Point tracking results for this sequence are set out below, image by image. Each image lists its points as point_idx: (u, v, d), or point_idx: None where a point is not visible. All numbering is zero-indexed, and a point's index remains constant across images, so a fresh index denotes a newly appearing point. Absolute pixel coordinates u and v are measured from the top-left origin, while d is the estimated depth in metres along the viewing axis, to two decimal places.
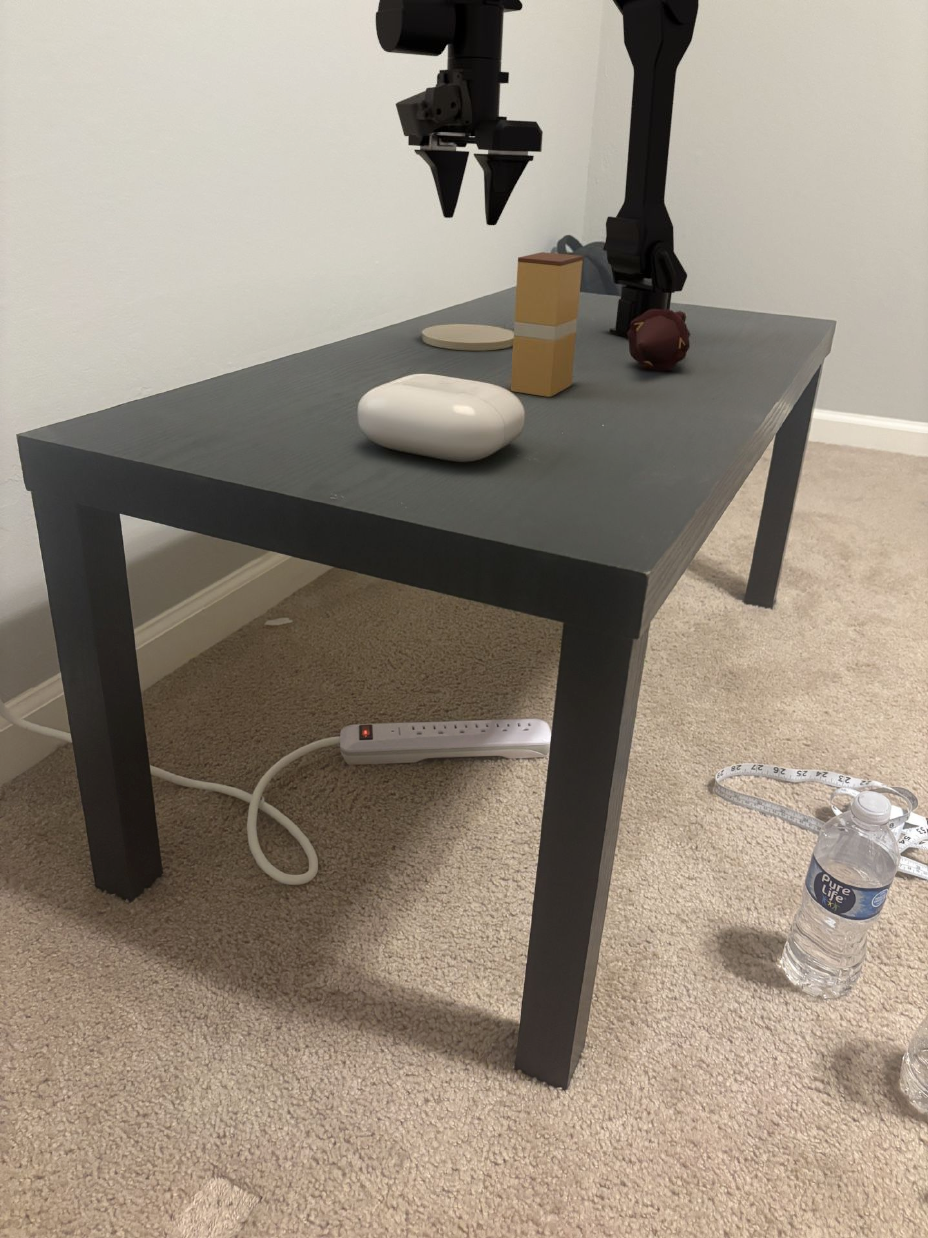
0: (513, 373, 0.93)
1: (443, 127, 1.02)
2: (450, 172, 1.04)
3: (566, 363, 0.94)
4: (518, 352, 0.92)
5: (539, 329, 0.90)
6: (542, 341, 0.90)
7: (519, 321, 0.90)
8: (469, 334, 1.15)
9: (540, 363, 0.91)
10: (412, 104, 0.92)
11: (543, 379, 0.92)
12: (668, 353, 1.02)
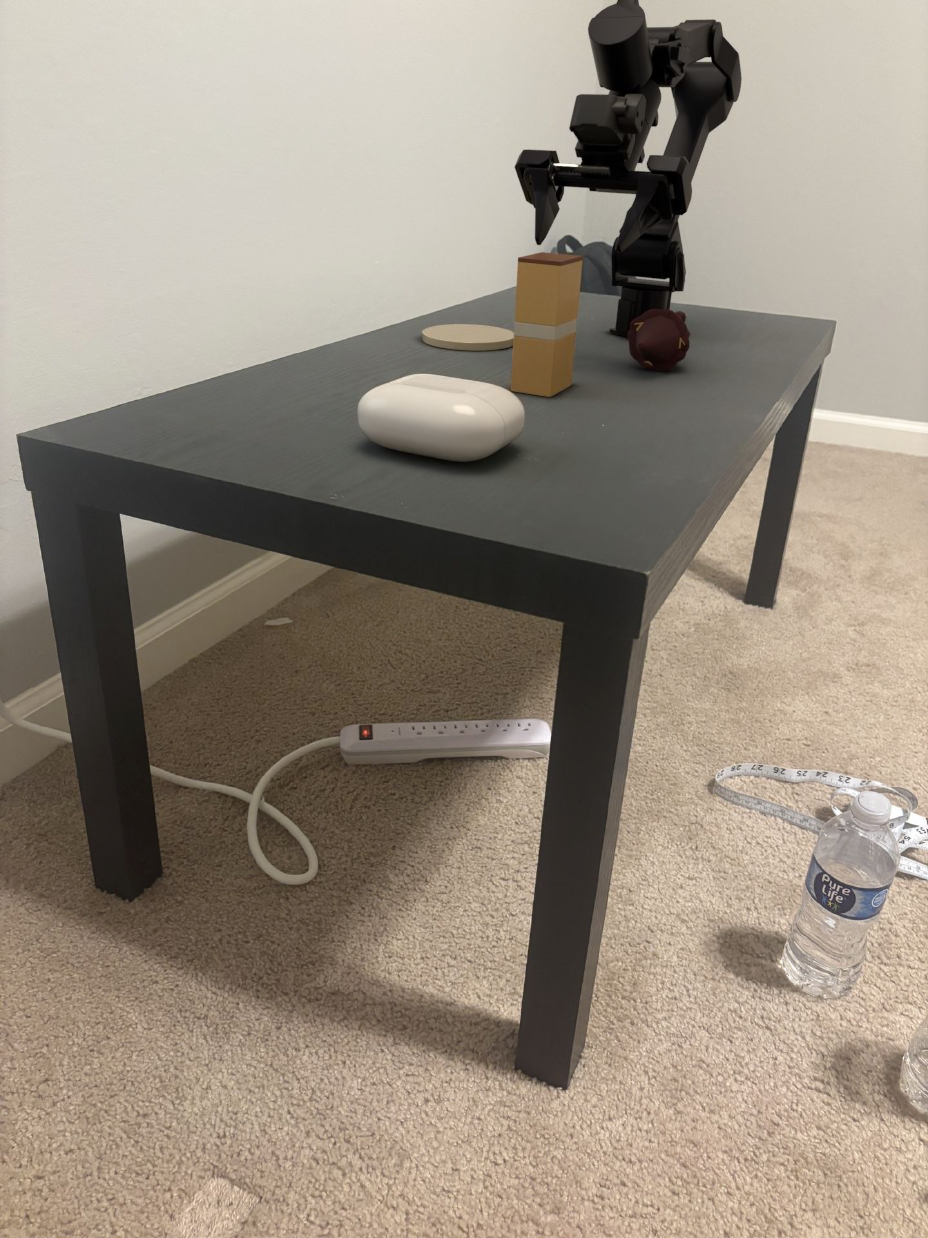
0: (513, 373, 0.93)
1: None
2: (550, 208, 0.99)
3: (566, 363, 0.94)
4: (518, 352, 0.92)
5: (539, 329, 0.90)
6: (542, 341, 0.90)
7: (519, 321, 0.90)
8: (469, 334, 1.15)
9: (540, 363, 0.91)
10: (612, 95, 0.90)
11: (543, 379, 0.92)
12: (668, 353, 1.02)
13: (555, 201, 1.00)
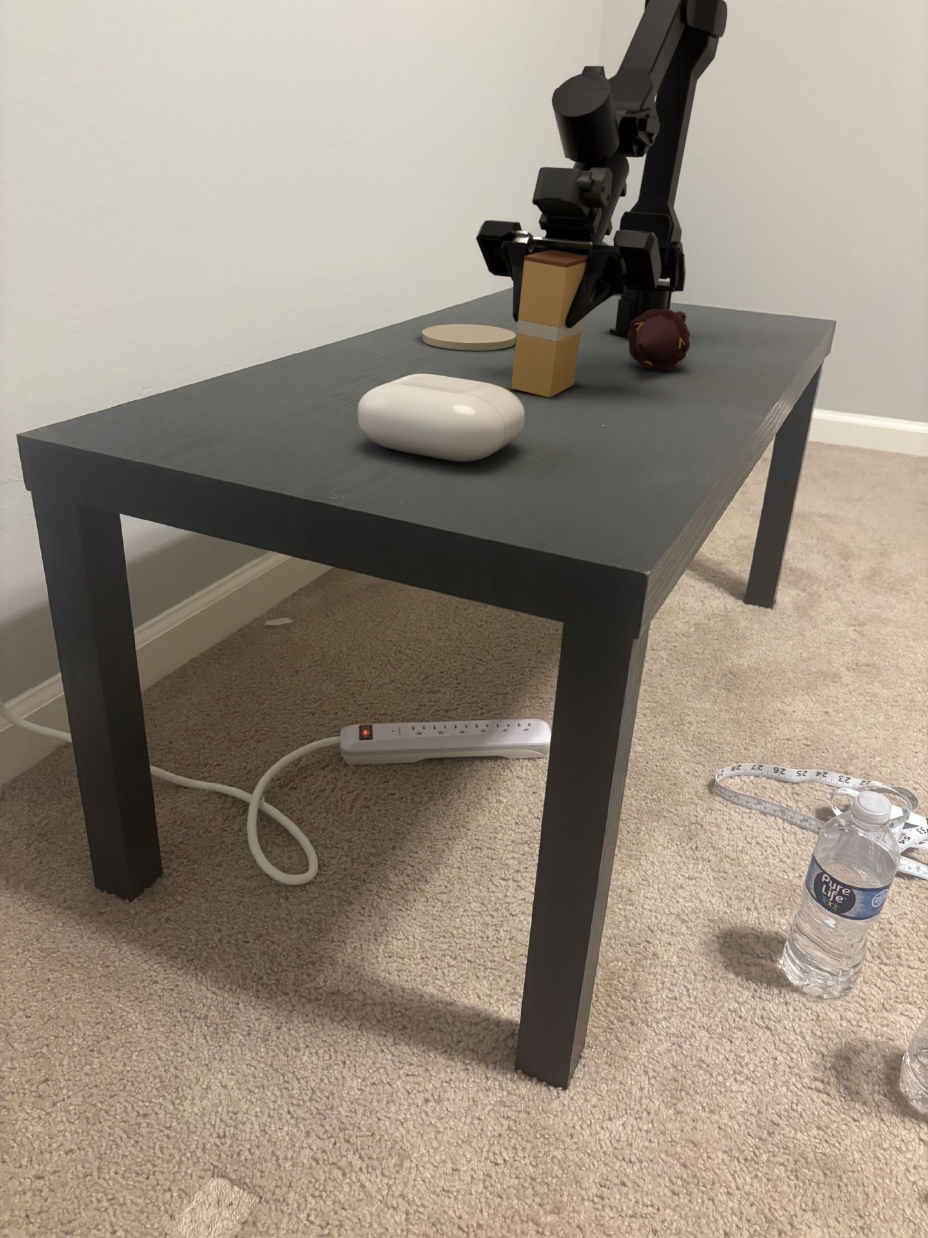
0: (514, 371, 0.93)
1: None
2: None
3: (569, 363, 0.94)
4: (520, 350, 0.91)
5: (542, 329, 0.89)
6: (545, 341, 0.90)
7: (523, 319, 0.90)
8: (469, 334, 1.15)
9: (541, 363, 0.91)
10: (577, 169, 0.85)
11: (544, 379, 0.91)
12: (668, 353, 1.02)
13: None
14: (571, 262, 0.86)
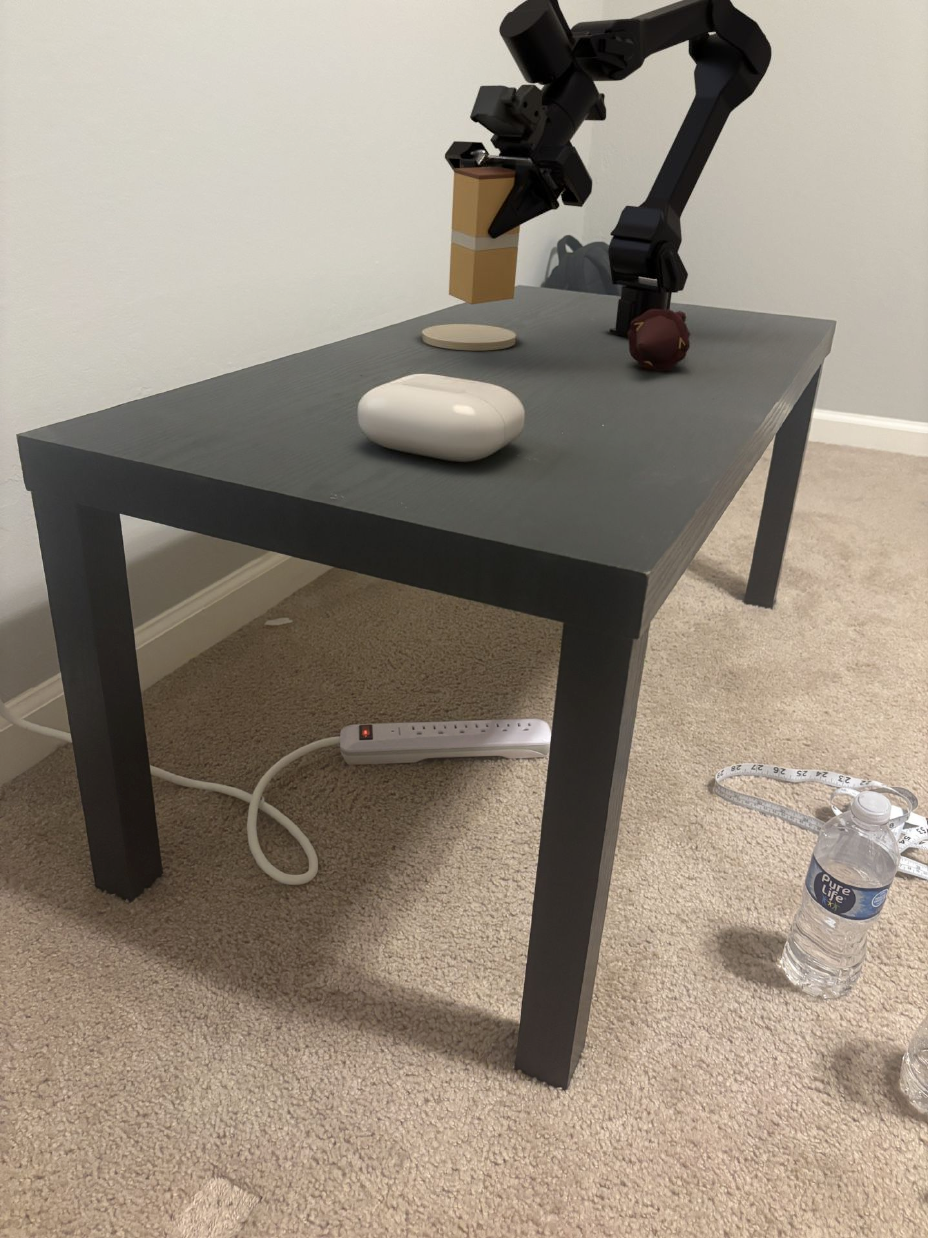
0: (450, 278, 1.01)
1: None
2: None
3: (501, 276, 1.00)
4: (453, 258, 1.00)
5: (465, 238, 0.97)
6: (467, 250, 0.98)
7: (454, 229, 0.98)
8: (469, 334, 1.15)
9: (466, 271, 0.99)
10: (503, 86, 0.92)
11: (467, 286, 0.99)
12: (668, 353, 1.02)
13: None
14: (487, 175, 0.93)
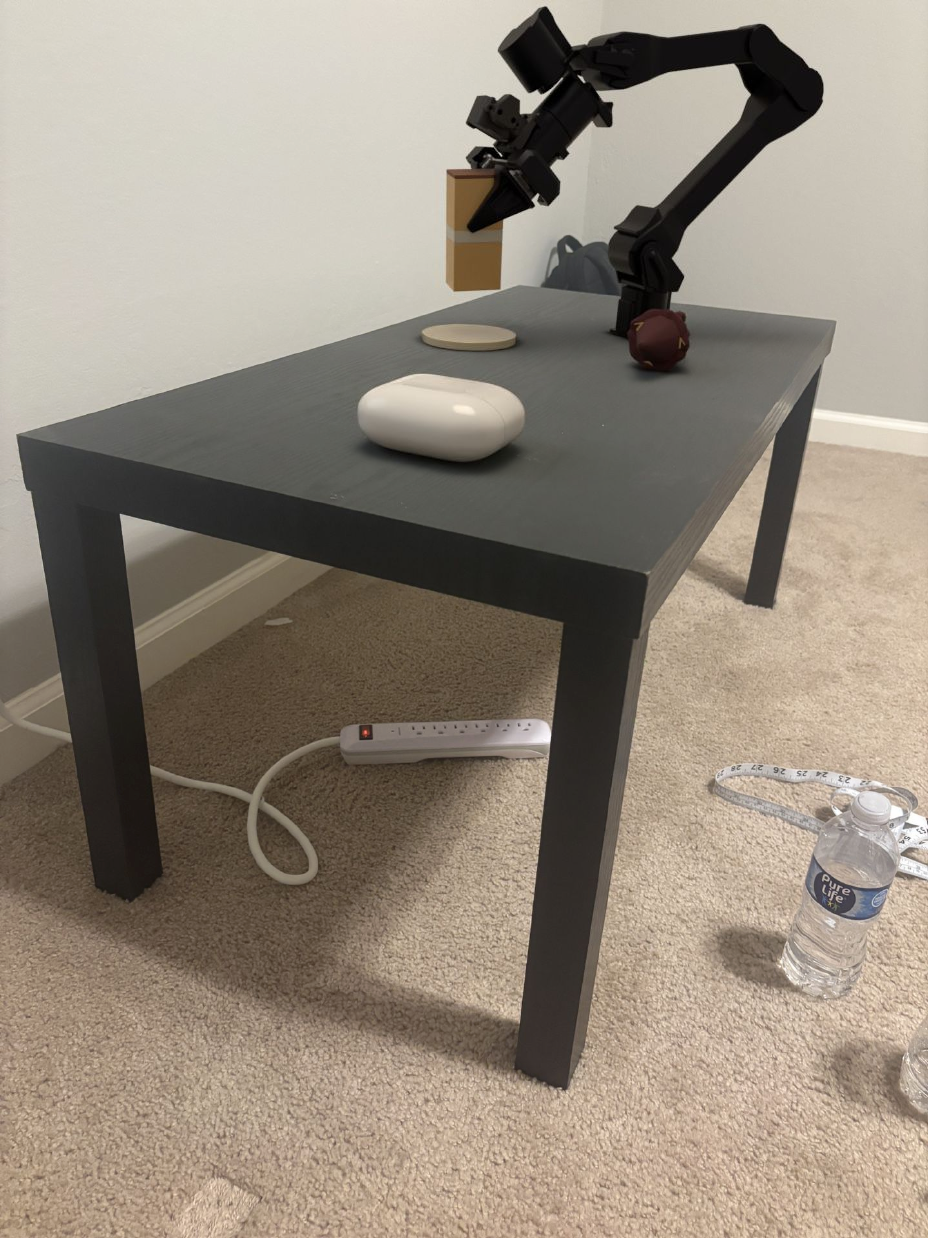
0: (446, 267, 1.13)
1: None
2: None
3: (485, 267, 1.10)
4: (446, 250, 1.12)
5: (451, 231, 1.08)
6: (451, 242, 1.09)
7: (447, 223, 1.10)
8: (469, 334, 1.15)
9: (451, 261, 1.10)
10: (486, 96, 1.02)
11: (452, 275, 1.11)
12: (668, 353, 1.02)
13: None
14: (464, 175, 1.04)
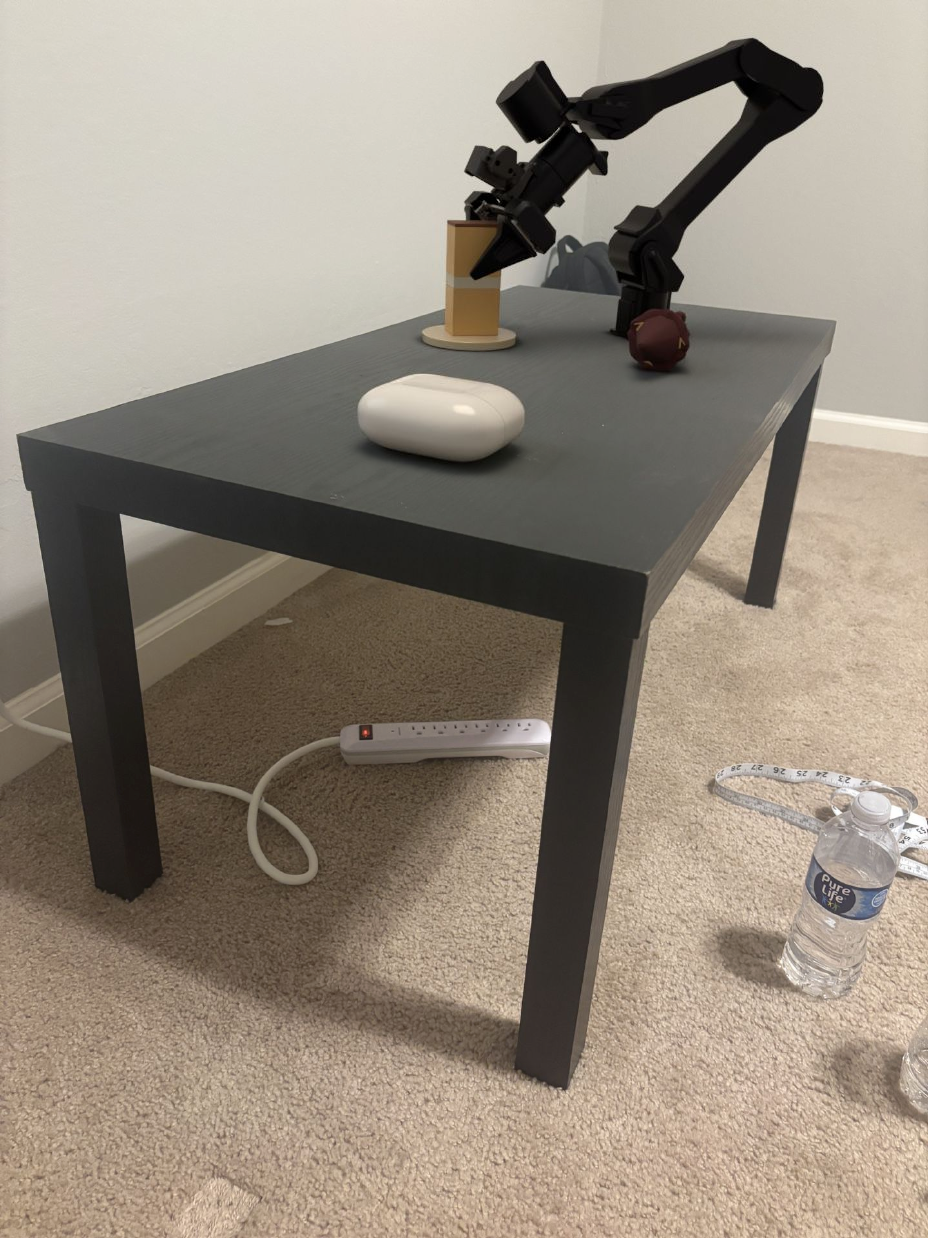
0: (445, 314, 1.16)
1: None
2: None
3: (483, 313, 1.13)
4: (446, 297, 1.15)
5: (450, 278, 1.12)
6: (451, 288, 1.12)
7: (446, 271, 1.13)
8: None
9: (450, 307, 1.13)
10: (484, 146, 1.04)
11: (451, 320, 1.13)
12: (668, 353, 1.02)
13: None
14: (464, 223, 1.07)
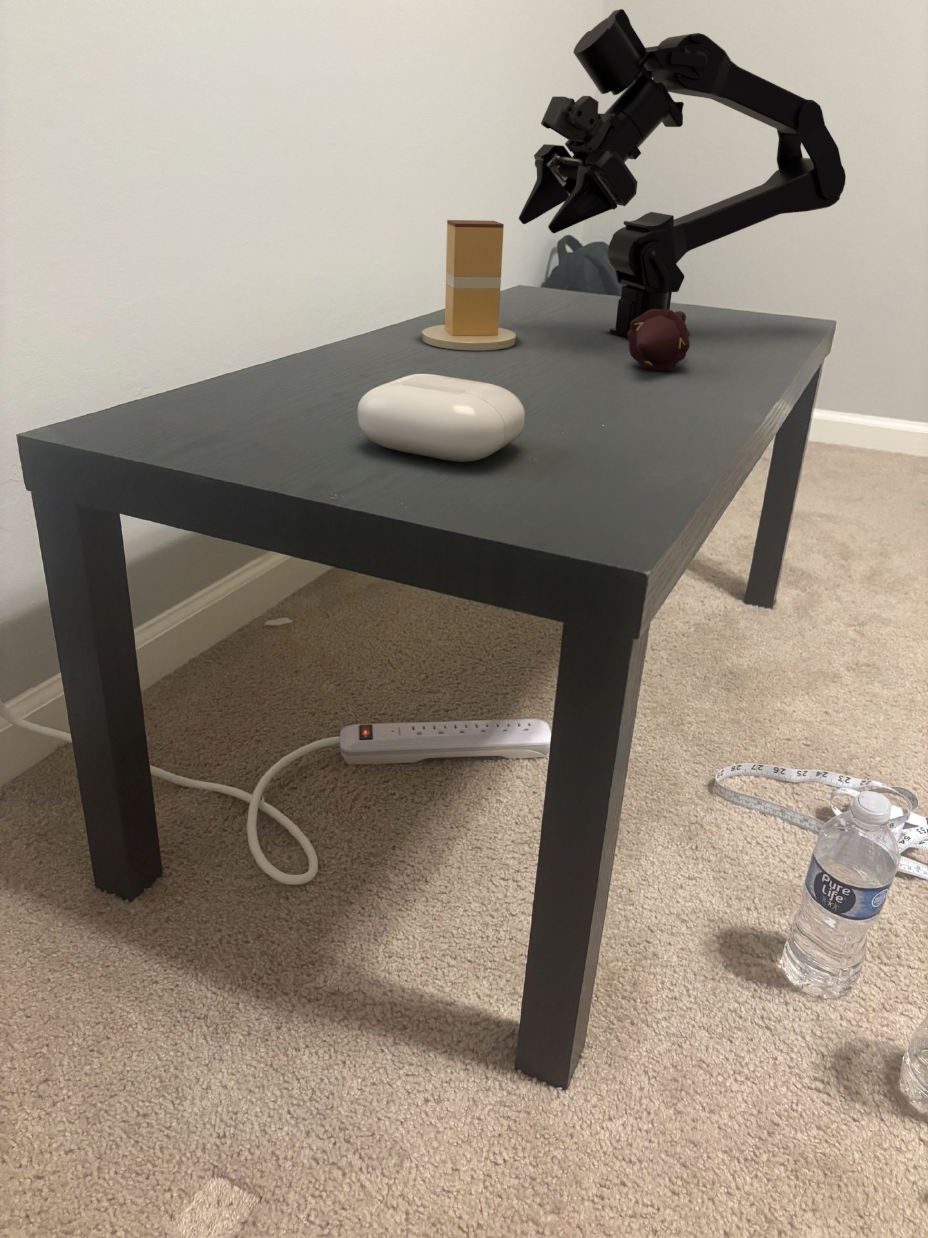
0: (445, 314, 1.16)
1: None
2: (547, 194, 1.15)
3: (483, 313, 1.13)
4: (446, 297, 1.15)
5: (450, 278, 1.12)
6: (451, 288, 1.12)
7: (446, 271, 1.13)
8: None
9: (450, 307, 1.13)
10: (565, 97, 1.04)
11: (451, 320, 1.13)
12: (667, 353, 1.02)
13: (560, 189, 1.16)
14: (464, 223, 1.07)
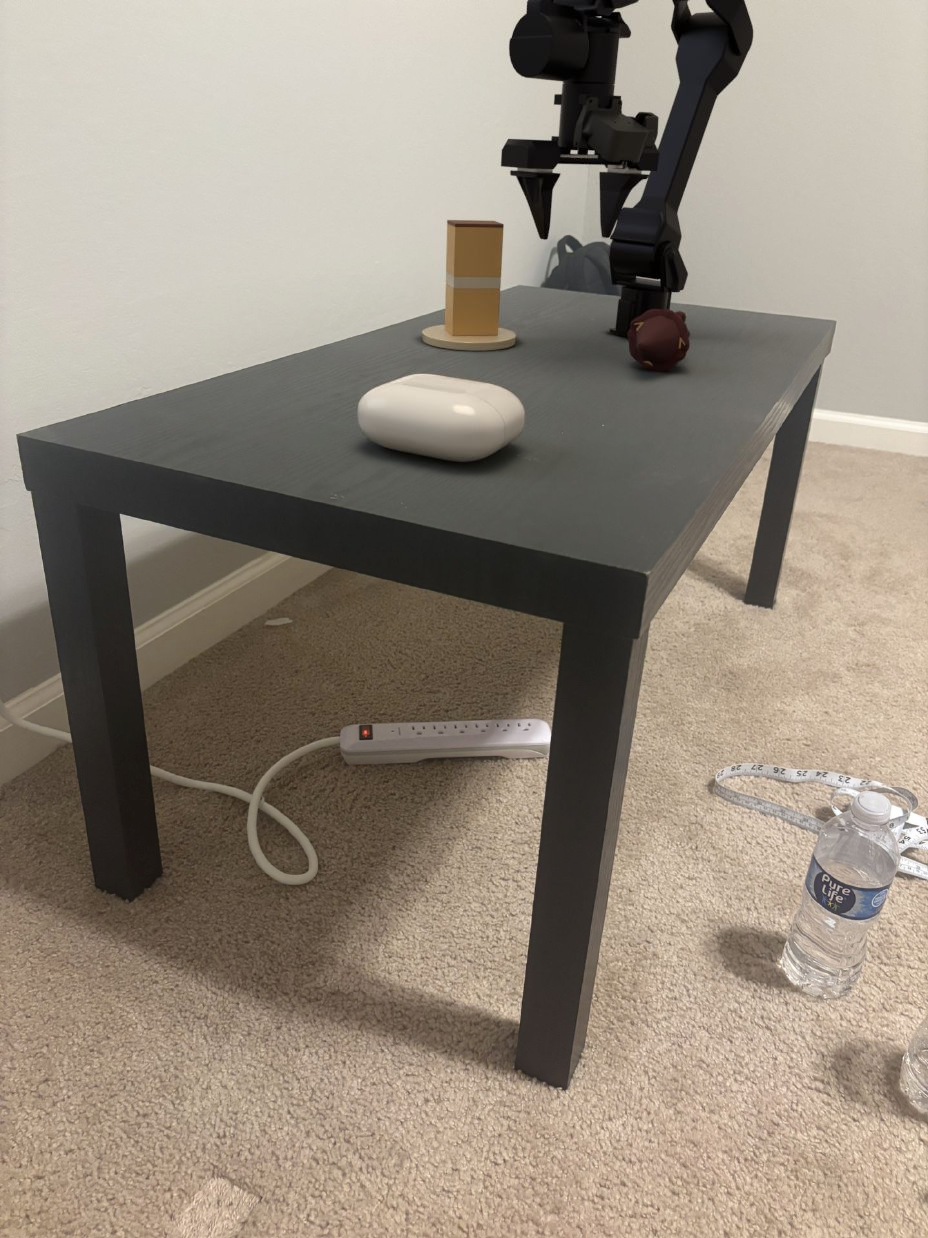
0: (445, 314, 1.16)
1: None
2: None
3: (483, 313, 1.13)
4: (446, 297, 1.15)
5: (450, 278, 1.12)
6: (451, 288, 1.12)
7: (446, 271, 1.13)
8: None
9: (450, 307, 1.13)
10: (646, 132, 0.96)
11: (451, 320, 1.13)
12: (668, 353, 1.02)
13: None
14: (464, 223, 1.07)
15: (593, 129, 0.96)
